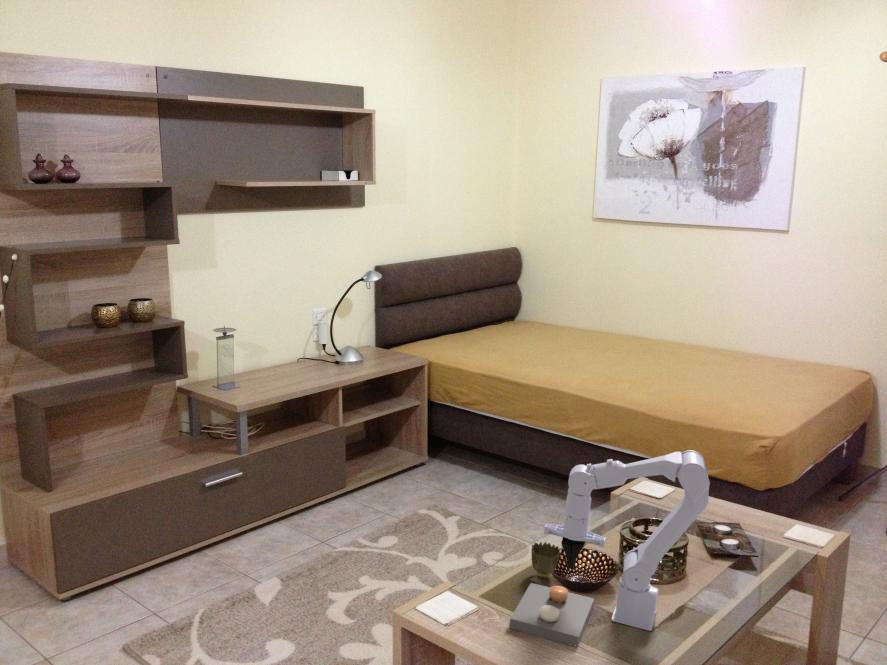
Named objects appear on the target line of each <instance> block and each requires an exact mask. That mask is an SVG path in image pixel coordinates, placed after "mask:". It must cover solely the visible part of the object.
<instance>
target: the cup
mask: <svg viewBox="0 0 887 665" xmlns="http://www.w3.org/2000/svg"><path fill="white" fill-rule="evenodd" d="M530 549H531V550H530V551H531V553H530V554H531V565H532V568H533V569H534V571H535V575H536V576H537V578H539V579H541V580H548V579H549V578H550V576H551V574H552V573H553V572H555V571H556V568H557V565H558V562H559V557H560V554H561V552H560V551H561V549H560V548H559V546H556V545H555V544H552V545H551V543H550V542H548V543H547V541H546V542H544V543H542V542H541V541H540V542H539V543H538V542H534V544H531V548H530Z"/></svg>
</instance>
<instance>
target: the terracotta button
mask: <svg viewBox="0 0 887 665" xmlns="http://www.w3.org/2000/svg"><path fill="white" fill-rule="evenodd" d="M568 592H569V590H568V588H566V587H564V586H562V585H553V586H551V587H550V592H549V597H550V598H551V599H552V601H553V602H557V603H560V604H563V602H564V601H565V600H567V597H568Z"/></svg>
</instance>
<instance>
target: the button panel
mask: <svg viewBox="0 0 887 665" xmlns="http://www.w3.org/2000/svg"><path fill="white" fill-rule="evenodd" d="M550 588H551V587H549V586H545V585H541V584H538V583H533V582H530V584H529V585H528V587H527V588H526V590H525V592H524V594H523V596H522V598H520V601H519V602H518V605H517V606H516V607H515V609H514V612H513V613H512V614H511V617H510V618H509V629H510V630H515V631H517V632H518V631H519V632H522V633H526V634H529V635H532V636H537V637H540V638H544V639H547V640H550V641H555V642H559V643H563V644H565V643H566V645H570V644H571V645H570V646H572V645H576V646H578V647H579V645H580V642H581V639H582V637H583V634H584V633H585V630H586V627H587V624H588V622H589V619H590V618H591V614H592V612H593V609H594V605H595V598H594V597H593V598H592V597H589V596H585V595H580V594H577V593H573V592H569V591H568V597H567V600H565V601H564V602H563V604H560V603H557V602H553V601H552V599H551V598H550V597H549V592H550ZM545 605H550V606H554V607H556V608H557V609H558V610H559V618H558V620H557V621H555V622H554V623H552V622H547V621H544V620H542V619H541V618H540V616H539V615H540V608H541V607H542V606H545ZM578 644H579V645H578ZM576 646H575V647H576Z"/></svg>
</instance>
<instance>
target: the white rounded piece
mask: <svg viewBox="0 0 887 665" xmlns="http://www.w3.org/2000/svg"><path fill="white" fill-rule="evenodd" d="M539 616H540V618H541V619H542V620H544V621H547V622H552V623H554V622H555V621H557V620H558V618H559V610H558V609H557V608H556V607H554V606H550V605H545V606H542V607H541V608H540V615H539Z"/></svg>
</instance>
